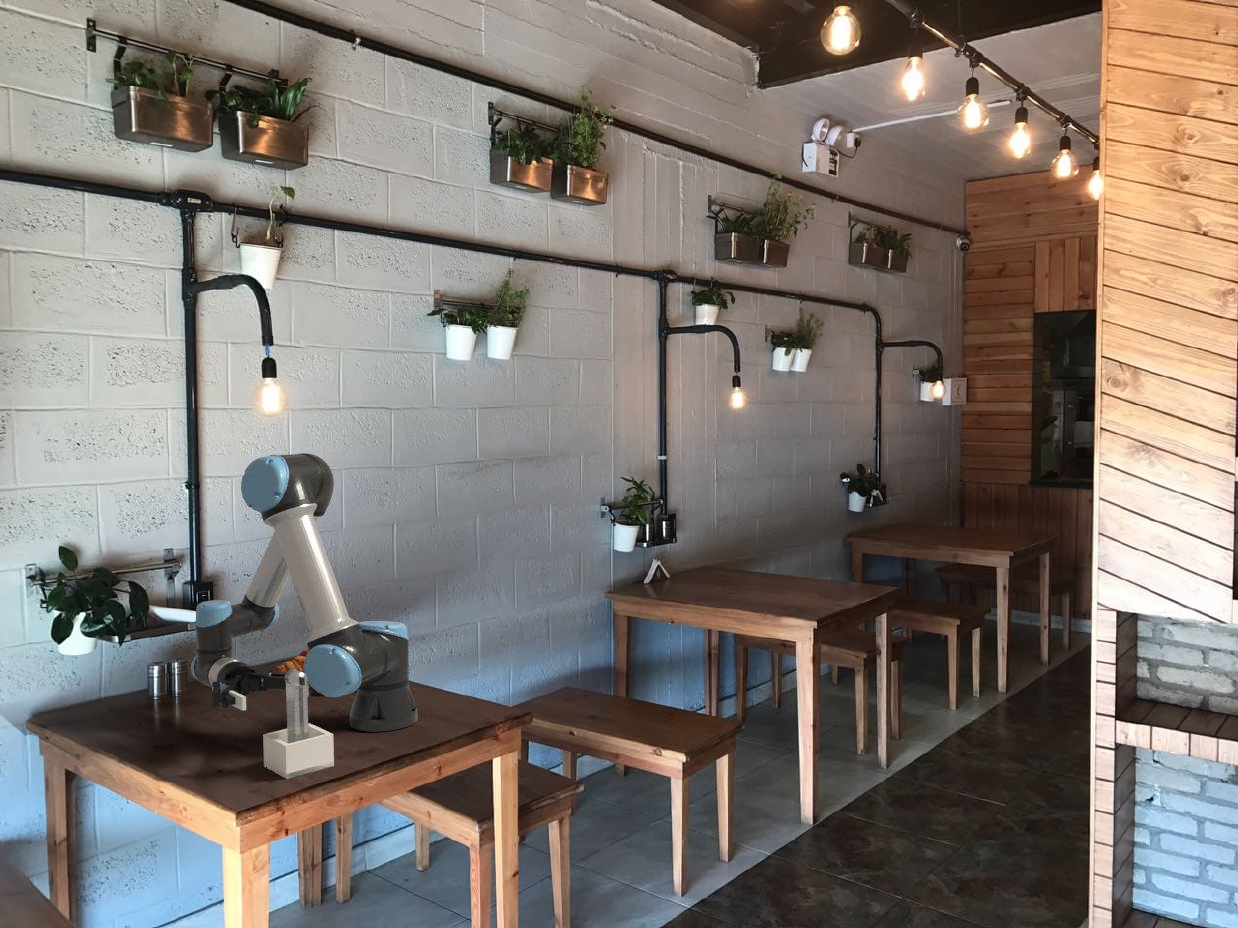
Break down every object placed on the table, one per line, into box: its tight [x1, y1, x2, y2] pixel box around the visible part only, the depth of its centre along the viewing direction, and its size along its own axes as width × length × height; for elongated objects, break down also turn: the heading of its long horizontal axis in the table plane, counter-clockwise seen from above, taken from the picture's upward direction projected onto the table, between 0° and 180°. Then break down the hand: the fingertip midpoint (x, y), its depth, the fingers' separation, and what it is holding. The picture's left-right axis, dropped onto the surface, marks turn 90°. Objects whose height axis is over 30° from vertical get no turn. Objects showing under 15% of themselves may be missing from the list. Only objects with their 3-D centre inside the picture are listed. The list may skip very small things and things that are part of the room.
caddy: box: [262, 722, 335, 780], centre depth 200 cm, size 10×10×6 cm
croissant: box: [275, 648, 309, 673], centre depth 274 cm, size 21×10×8 cm, turn 123°
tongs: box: [285, 669, 309, 744], centre depth 199 cm, size 3×5×18 cm, turn 44°
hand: (276, 696), depth 206 cm, fingers open, 13 cm apart
